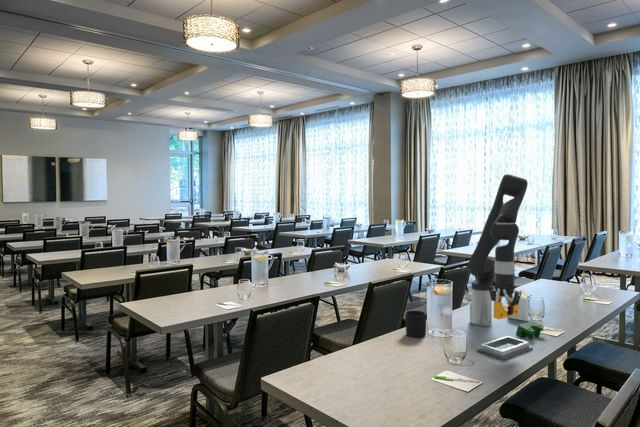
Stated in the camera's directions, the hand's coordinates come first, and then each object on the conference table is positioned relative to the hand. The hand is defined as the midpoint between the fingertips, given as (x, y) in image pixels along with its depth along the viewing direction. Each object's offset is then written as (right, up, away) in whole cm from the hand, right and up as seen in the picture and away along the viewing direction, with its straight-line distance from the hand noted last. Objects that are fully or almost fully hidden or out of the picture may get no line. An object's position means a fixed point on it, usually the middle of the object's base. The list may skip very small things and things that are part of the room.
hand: (504, 313), depth 186 cm
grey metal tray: (0, -15, +1) cm, 15 cm away
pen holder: (-31, -15, +23) cm, 41 cm away
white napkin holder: (+25, -13, +45) cm, 53 cm away
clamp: (+18, -15, +17) cm, 29 cm away
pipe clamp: (0, -1, 0) cm, 1 cm away
